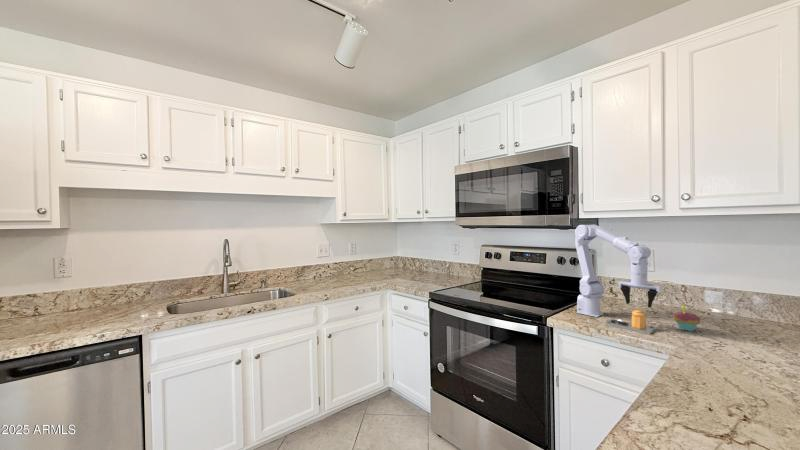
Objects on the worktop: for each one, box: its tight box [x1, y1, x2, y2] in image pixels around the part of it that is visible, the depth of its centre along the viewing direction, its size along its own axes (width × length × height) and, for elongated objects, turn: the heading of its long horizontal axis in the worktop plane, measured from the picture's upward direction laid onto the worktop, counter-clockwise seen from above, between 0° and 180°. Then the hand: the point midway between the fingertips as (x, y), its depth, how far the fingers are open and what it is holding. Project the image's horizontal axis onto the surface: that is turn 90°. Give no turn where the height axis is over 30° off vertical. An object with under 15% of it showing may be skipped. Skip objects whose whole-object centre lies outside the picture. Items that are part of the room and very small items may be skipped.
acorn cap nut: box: [631, 309, 647, 328], centre depth 136 cm, size 5×5×7 cm
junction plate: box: [605, 317, 657, 335], centre depth 138 cm, size 16×9×4 cm, turn 39°
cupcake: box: [672, 302, 701, 332], centre depth 134 cm, size 9×8×12 cm
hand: (638, 305), depth 136 cm, fingers open, 7 cm apart
